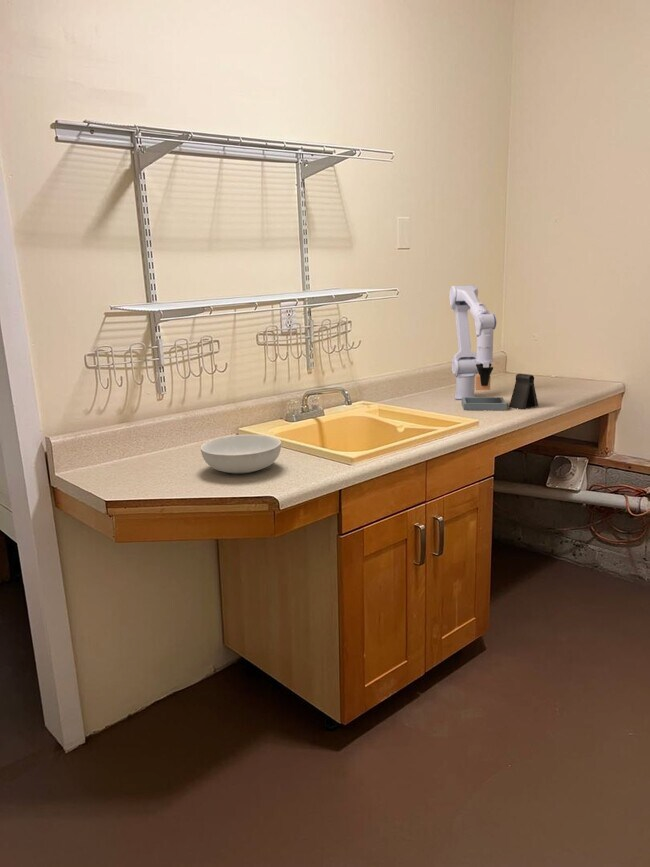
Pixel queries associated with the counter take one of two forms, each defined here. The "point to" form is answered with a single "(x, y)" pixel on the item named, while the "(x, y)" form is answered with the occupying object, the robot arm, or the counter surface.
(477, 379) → the orange block
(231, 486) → the counter surface
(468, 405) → the slate tray
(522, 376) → the phone stand
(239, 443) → the serving bowl
